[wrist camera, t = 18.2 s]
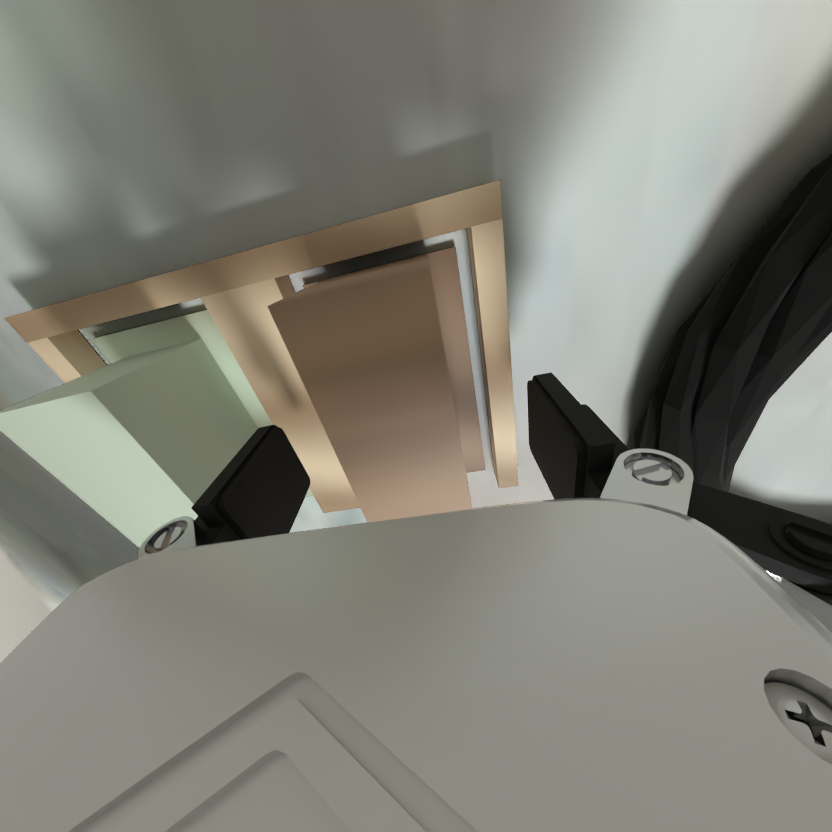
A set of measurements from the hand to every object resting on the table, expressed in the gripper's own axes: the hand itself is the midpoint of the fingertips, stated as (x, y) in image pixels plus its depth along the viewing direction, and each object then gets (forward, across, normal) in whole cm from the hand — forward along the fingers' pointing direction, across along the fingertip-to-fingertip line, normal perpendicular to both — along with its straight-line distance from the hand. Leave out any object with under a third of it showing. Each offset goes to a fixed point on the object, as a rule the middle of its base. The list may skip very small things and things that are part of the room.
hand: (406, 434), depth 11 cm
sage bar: (+3, +10, 0) cm, 11 cm away
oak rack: (+3, +5, 0) cm, 6 cm away
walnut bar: (+3, 0, -1) cm, 3 cm away
